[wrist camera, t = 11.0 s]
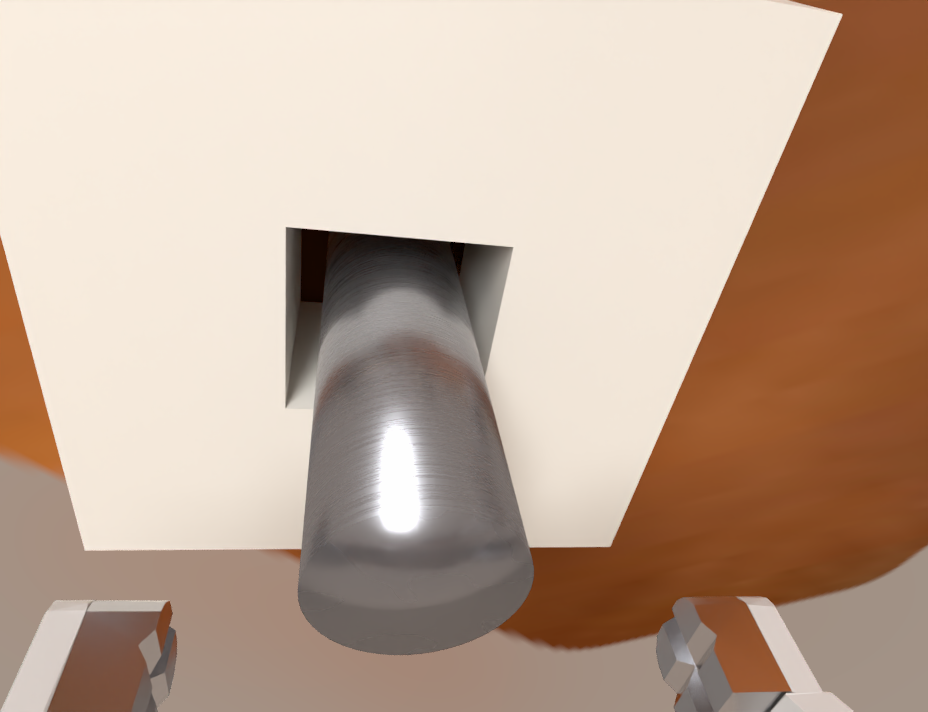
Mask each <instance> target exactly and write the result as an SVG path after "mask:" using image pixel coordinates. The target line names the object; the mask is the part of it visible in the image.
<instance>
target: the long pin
mask: <svg viewBox="0 0 928 712" xmlns="http://www.w3.org/2000/svg"><path fill="white" fill-rule="evenodd" d="M533 579H534V566H533V561H532V557H531V553H530V549H529V545H528V541H527V537H526V534H525V530H524V526H523V522H522V518H521V514H520V510H519V507H518V503H517V499H516V495H515V491H514V487H513V484H512V480H511V476H510V472H509V468H508V464H507V460H506V457H505V453H504V449H503V445H502V441H501V437H500V434H499V430H498V426H497V422H496V418H495V414H494V410H493V407H492V403H491V399H490V395H489V391H488V387H487V384H486V380H485V376H484V372H483V368H482V364H481V361H480V357H479V353H478V349H477V345H476V341H475V337H474V334H473V330H472V326H471V322H470V318H469V314H468V311H467V307H466V303H465V299H464V295H463V291H462V287H461V284H460V280H459V276H458V272H457V268H456V264H455V261H454V257H453V253H452V249H451V245H450V241H439V240H427V239H416V238H405V237H394V236H382V235H371V234H360V233H348V232H337V231H329V236H328V247H327V259H326V270H325V282H324V293H323V305H322V316H321V328H320V340H319V351H318V363H317V374H316V386H315V397H314V409H313V421H312V432H311V444H310V455H309V467H308V478H307V490H306V501H305V513H304V525H303V536H302V548H301V559H300V571H299V583H298V601H299V604H300V608H301V611H302V613H303V614H304V616H305V618H306V619H307V620H308V622H309V623H310V624H311V625H312V626H313V627H314V628H315V629H316V630H317V631H318V632H320V633H321V634H322V635H324V636H325V637H327V638H329V639H330V640H332V641H334V642H336V643H339V644H341V645H343V646H346V647H349V648H352V649H356V650H360V651H365V652H370V653H376V654H387V655H411V654H422V653H429V652H435V651H440V650H444V649H448V648H452V647H455V646H458V645H462V644H464V643H467V642H470V641H472V640H474V639H476V638H479V637H481V636H483V635H485V634H487V633H488V632H490V631H492V630H494V629H495V628H497V627H498V626H500V625H501V624H502V623H504V622H505V621H506V620H507V619H509V618H510V617H511V616H512V615H513V614H514V613H515V612H516V611H517V610H518V609H519V607H520V606H521V605H522V604H523V602H524V601H525V599H526V598H527V596H528V594H529V592H530V589H531V587H532V583H533Z"/></svg>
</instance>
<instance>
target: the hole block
mask: <svg viewBox="0 0 928 712" xmlns="http://www.w3.org/2000/svg"><path fill="white" fill-rule="evenodd" d="M842 15H843V14H840V13H836V12H832V11H828V10H824V9H820V8H816V7H812V6H808V5H804V4H800V3H796V2H792V1H788V0H0V235H1V239H2V242H3V246H4V250H5V254H6V257H7V261H8V265H9V269H10V272H11V276H12V280H13V283H14V287H15V291H16V295H17V298H18V302H19V306H20V310H21V313H22V317H23V321H24V325H25V328H26V332H27V336H28V340H29V343H30V347H31V351H32V355H33V358H34V362H35V366H36V369H37V373H38V377H39V381H40V384H41V388H42V392H43V396H44V399H45V403H46V407H47V411H48V414H49V418H50V422H51V426H52V429H53V433H54V437H55V441H56V444H57V448H58V452H59V455H60V459H61V463H62V467H63V470H64V474H65V478H66V482H67V485H68V489H69V493H70V497H71V500H72V504H73V508H74V512H75V515H76V519H77V523H78V527H79V530H80V534H81V538H82V541H83V545H84V549H85V550H209V549H211V550H215V549H216V550H218V549H219V550H221V549H301V548H302V536H303V525H304V513H305V501H306V490H307V478H308V467H309V455H310V444H311V432H312V421H313V409H314V397H315V386H316V374H317V363H318V351H319V340H320V328H321V316H322V305H323V303H320V302H305V301H301V242H302V228H303V229H314V230H326V231H337V232H348V233H360V234H371V235H382V236H394V237H405V238H416V239H427V240H439V241H450V242H461V243H465V246H464V252H463V258H462V264H461V269H460V275H459V280H460V284H461V287H462V291H463V295H464V299H465V303H466V307H467V311H468V314H469V318H470V322H471V326H472V330H473V334H474V337H475V341H476V345H477V349H478V353H479V357H480V361H481V364H482V368H483V372H484V376H485V380H486V384H487V387H488V391H489V395H490V399H491V403H492V407H493V410H494V414H495V418H496V422H497V426H498V430H499V434H500V437H501V441H502V445H503V449H504V453H505V457H506V460H507V464H508V468H509V472H510V476H511V480H512V484H513V487H514V491H515V495H516V499H517V503H518V507H519V510H520V514H521V518H522V522H523V526H524V530H525V534H526V537H527V541H528V545H529V547H610V546H611V544H612V542H613V539H614V537H615V535H616V532H617V530H618V528H619V526H620V523H621V521H622V519H623V516H624V514H625V512H626V510H627V507H628V505H629V503H630V500H631V498H632V496H633V494H634V491H635V489H636V487H637V484H638V482H639V480H640V477H641V475H642V473H643V471H644V468H645V466H646V464H647V461H648V459H649V457H650V455H651V452H652V450H653V448H654V445H655V443H656V441H657V439H658V436H659V434H660V432H661V429H662V427H663V425H664V423H665V420H666V418H667V416H668V413H669V411H670V409H671V406H672V404H673V402H674V400H675V397H676V395H677V393H678V390H679V388H680V386H681V384H682V381H683V379H684V377H685V374H686V372H687V370H688V368H689V365H690V363H691V361H692V358H693V356H694V354H695V352H696V349H697V347H698V345H699V342H700V340H701V338H702V335H703V333H704V331H705V329H706V326H707V324H708V322H709V319H710V317H711V315H712V313H713V310H714V308H715V306H716V303H717V301H718V299H719V297H720V294H721V292H722V290H723V287H724V285H725V283H726V281H727V278H728V276H729V274H730V271H731V269H732V267H733V264H734V262H735V260H736V258H737V255H738V253H739V251H740V248H741V246H742V244H743V242H744V239H745V237H746V235H747V232H748V230H749V228H750V226H751V223H752V221H753V219H754V216H755V214H756V212H757V210H758V207H759V205H760V203H761V200H762V198H763V196H764V193H765V191H766V189H767V187H768V184H769V182H770V180H771V177H772V175H773V173H774V171H775V168H776V166H777V164H778V161H779V159H780V157H781V155H782V152H783V150H784V148H785V145H786V143H787V141H788V139H789V136H790V134H791V132H792V129H793V127H794V125H795V122H796V120H797V118H798V116H799V113H800V111H801V109H802V106H803V104H804V102H805V100H806V97H807V95H808V93H809V90H810V88H811V86H812V84H813V81H814V79H815V77H816V74H817V72H818V70H819V68H820V65H821V63H822V61H823V58H824V56H825V54H826V51H827V49H828V47H829V45H830V42H831V40H832V38H833V35H834V33H835V31H836V29H837V26H838V24H839V22H840V19H841V17H842Z"/></svg>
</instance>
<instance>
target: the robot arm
mask: <svg viewBox="0 0 928 712" xmlns="http://www.w3.org/2000/svg"><path fill="white" fill-rule="evenodd" d="M672 610H673V613H674V615H675V617H674V618H672V619H671V620H669V621H667V622H666V623H664V624H663V625H662V627H661V629H660V631H659V633H658V635H657V647H656V653H657V659H658V664H659V668H660V670H661V673H662V676H663V679H664V681H665V682H666V683H667V684H668V685H669V686H670V687H671V688H672V689H673V690H674V691H675V692H676V693H677V697H676V701H675V705H674V709H675V712H854V711H853V710H852V709H851V708H849V707H848V706H847V705H846V704H845V703H843V702H842V701H841V700H840V699H839V698H838V697H836V696H835V695H834V694H833V693H832V692H824V691H822V690H821V688H820V686H819V684H818V682H817V681H816V679H815V677H814V675H813V674H812V672H811V670H810V668H809V666H808V665H807V663H806V661H805V659H804V658H803V656H802V654H801V652H800V650H799V649H798V647H797V645H796V643H795V641H794V640H793V638H792V636H791V634H790V633H789V631H788V629H787V627H786V626H785V624H784V622H783V620H782V618H781V617H780V615H779V613H778V611H777V609H776V608H775V606H774V605H773V603H772V602H771V601H769V600H768V599H767V598H765V597H760V596H746V597H735V596H716V597H684V598H681V599H679V600H677V602H676V603H675V605H674V606H673V608H672ZM172 614H173V613H172V609H171V604H170V601H96V600H63V601H61V600H60V601H54V603H53V604H52V605H51V606H50V608H49V609H48V610H47V611H46V613H45V615H44V617H43V619H42V621H41V623H40V625H39V628H38V630H37V632H36V634H35V637H34V639H33V641H32V643H31V645H30V648H29V650H28V652H27V654H26V657H25V659H24V661H23V663H22V665H21V667H20V670H19V672H18V674H17V676H16V679H15V681H14V683H13V685H12V687H11V689H10V692H9V694H8V696H7V698H6V701H5V703H4V705H3V707H2V709H1V711H0V712H158V711H157V707H158V706H159V705H160V704H161V703H162V702H163V701H164V700H165V699H166V698H167V697H168V696H169V693H170V689H171V685H172V681H173V677H174V671H175V664H176V657H177V637H176V631H175V630H174V629H172V628H171V627H169V625H170V621H171V618H172Z"/></svg>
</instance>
